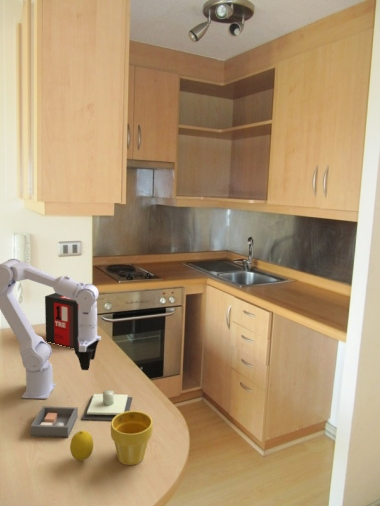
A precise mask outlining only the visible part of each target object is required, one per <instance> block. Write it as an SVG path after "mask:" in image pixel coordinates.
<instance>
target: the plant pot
mask: <svg viewBox="0 0 380 506" xmlns="http://www.w3.org/2000/svg"><path fill="white" fill-rule="evenodd" d="M110 422H111V423H110V437H111V440H112V441H114V446H115V451H116V455H117V459H118V461H119V462H120V463H121V464H123V465H125V466H133V465H139V464H140V463H141V462H142V461H143V460H144V457H145V455H146V449H147V448H148V442H149V441H150V439H151V438H152V434H153V425H154V424H153V423H154V421H153V418H152V417H151V415H149V414H148V413H146V412H143V411H140V410H138V411H137V410H129V411H126V412H123V413H120V414H118V415H117V416H115V417H114V418H113V420H112V421H110Z"/></svg>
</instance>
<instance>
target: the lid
mask: <svg viewBox="0 0 380 506" xmlns="http://www.w3.org/2000/svg"><path fill="white" fill-rule="evenodd" d="M92 396H93V398H92V401H91V403H90V406H89V408H88V411H87V414H100V415H118V414H120V413H123V412H124V411H125V407H126V402H127V398H128V397H129V394H119V393H117V394H116V393H115V392H114V391H113V390H111V389H110V390H109V389H107V390H104V391H103V392H102V393H94V394H93V395H92Z"/></svg>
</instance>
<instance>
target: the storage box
mask: <svg viewBox="0 0 380 506" xmlns="http://www.w3.org/2000/svg"><path fill="white" fill-rule="evenodd" d="M78 408H79V407H76V406H75V407H74V406H50V405H49V406H46V405H44V406H43V405H42V408H41V409H40V411H39V412H38V414H37V415H36V417H35V418H34V420H33V421H32V423H31V425H30V437H38V438H39V437H43V438H65V439H66V438H69V436H70V434H71V432H72V430H73V428H74V426H75V423H76V421H77V419H78V416H79V415H78V414H79V412H78V411H79V410H78Z"/></svg>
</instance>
